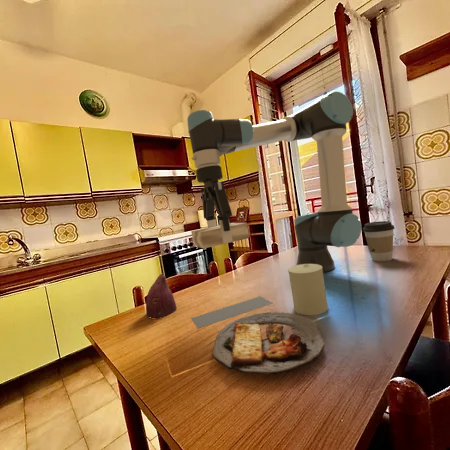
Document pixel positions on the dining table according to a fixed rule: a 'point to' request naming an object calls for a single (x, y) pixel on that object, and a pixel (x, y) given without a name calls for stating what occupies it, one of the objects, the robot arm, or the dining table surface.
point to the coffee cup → (380, 240)
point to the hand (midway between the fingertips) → (220, 241)
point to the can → (308, 289)
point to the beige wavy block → (218, 235)
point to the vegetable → (160, 299)
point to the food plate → (268, 343)
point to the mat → (229, 311)
